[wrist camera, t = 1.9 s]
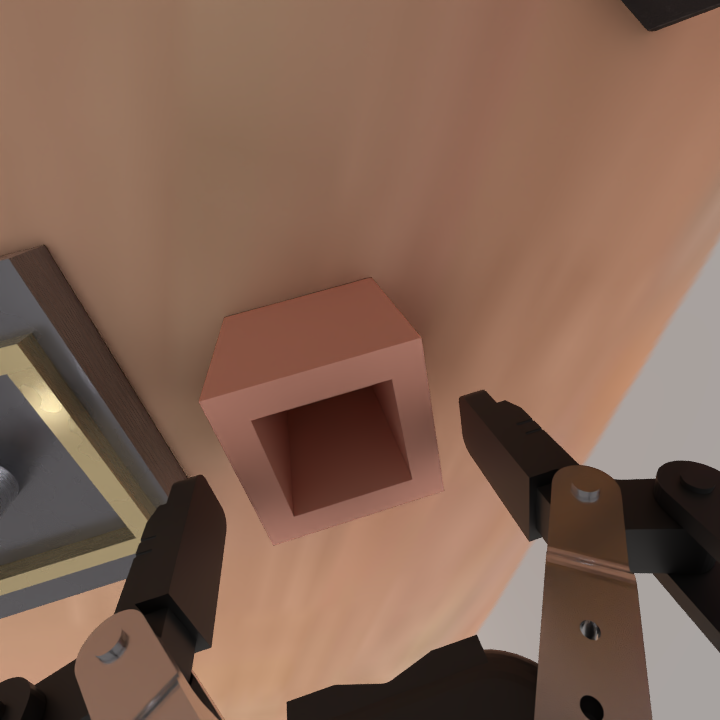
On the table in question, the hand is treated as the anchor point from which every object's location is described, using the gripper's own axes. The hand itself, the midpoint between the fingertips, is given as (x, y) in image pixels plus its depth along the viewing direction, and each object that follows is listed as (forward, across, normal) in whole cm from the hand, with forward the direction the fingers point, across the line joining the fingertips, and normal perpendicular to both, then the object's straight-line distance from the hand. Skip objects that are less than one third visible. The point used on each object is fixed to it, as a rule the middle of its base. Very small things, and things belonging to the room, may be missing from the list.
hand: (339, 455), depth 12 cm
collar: (+6, 0, 0) cm, 6 cm away
